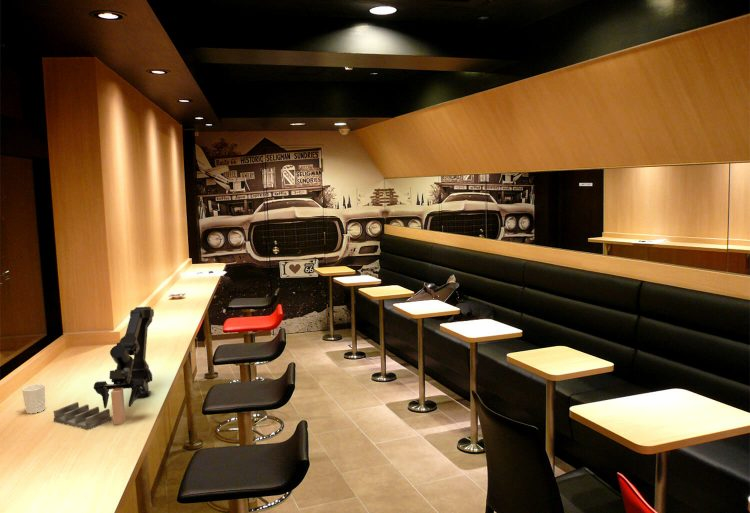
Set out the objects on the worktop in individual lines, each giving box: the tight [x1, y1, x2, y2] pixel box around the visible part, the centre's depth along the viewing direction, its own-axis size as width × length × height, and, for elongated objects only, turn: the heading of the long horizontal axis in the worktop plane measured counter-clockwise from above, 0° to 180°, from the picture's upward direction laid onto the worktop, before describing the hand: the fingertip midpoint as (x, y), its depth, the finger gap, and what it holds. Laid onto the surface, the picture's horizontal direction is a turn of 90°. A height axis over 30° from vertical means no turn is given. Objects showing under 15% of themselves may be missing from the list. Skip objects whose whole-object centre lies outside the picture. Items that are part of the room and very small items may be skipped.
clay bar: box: [110, 388, 126, 426], centre depth 232 cm, size 4×3×13 cm, turn 5°
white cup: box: [21, 383, 46, 415], centre depth 246 cm, size 8×8×10 cm
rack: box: [53, 401, 112, 430], centre depth 235 cm, size 10×20×4 cm, turn 63°
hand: (117, 407), depth 230 cm, fingers open, 9 cm apart
